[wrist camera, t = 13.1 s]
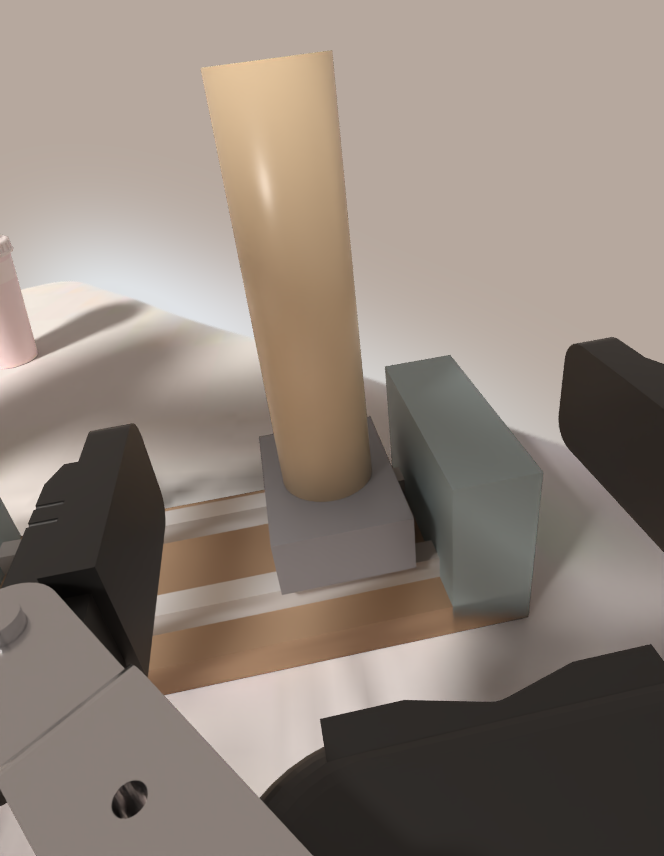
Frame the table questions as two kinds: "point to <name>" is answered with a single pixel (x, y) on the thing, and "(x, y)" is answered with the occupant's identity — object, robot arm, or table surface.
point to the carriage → (305, 323)
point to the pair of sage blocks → (456, 486)
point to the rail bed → (274, 601)
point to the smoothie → (13, 315)
